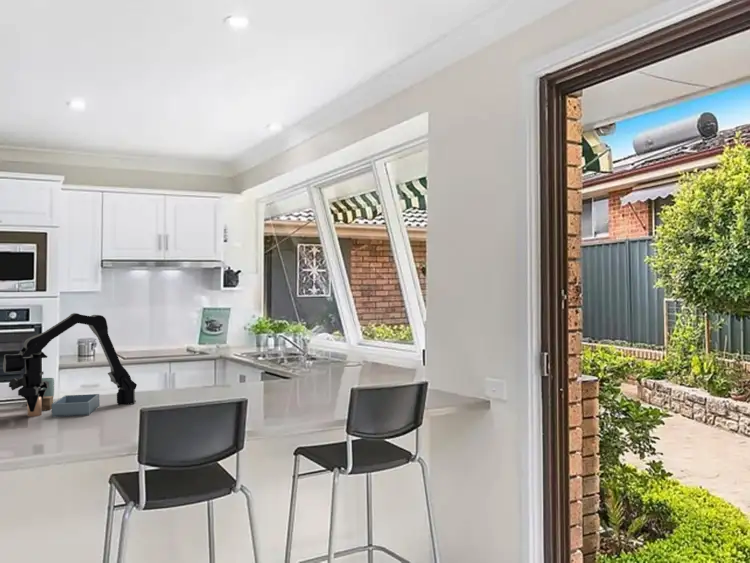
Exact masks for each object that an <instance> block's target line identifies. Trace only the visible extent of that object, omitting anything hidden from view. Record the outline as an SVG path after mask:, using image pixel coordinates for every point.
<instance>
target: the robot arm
mask: <svg viewBox="0 0 750 563" xmlns="http://www.w3.org/2000/svg"><path fill="white" fill-rule="evenodd" d="M76 324H82V325H86V326H88V327H89V328H90V330H91V331H92V333H93V334H94V335H95V337H97V339H98V340H97V341H98V342H99V344H100V346H101V349H102V351H103V353H104V356H105V357H106V360H107V362H108V365H109V367H110V371H109V372H107V375H108V376H109V378H110V382H112V383H113V384H114V385H116V387H117V389H118V390H117V393H116V403H117V405H118V406H120V405H121V406H122V405H134V404H135V403H136V401H137V400H136V389H137V386H138V385H137V383H136V382H134V381H133V380H132V378H131V375H130V374H129V372H128V370H127V369H126V368H125V367H124V366H123V365H122V363H121V361H120V358H119V357H118V354H117V352H116V349H115V347H114V344H113V342H112V340H111V338H110V336H109V327H108V323H107V319H106V316H105V317H104V315H100V314H93V315H85V314H80V313H76V312H73V313H71V314H70V315H68V316H67V317H66V318H64V319H63V320H60V321H59V322H58V323H56V324H55V325H53V326H52V327H50V328H49V329H47V330H45V331H43V332H40V333H38V334H35V335H32V336H31V337H28V338H27V339H25V341H24V343H23V346H22V348H21V349H20V351H19V352H18V353H16V354H14V353H13V354H4V355H3V357H4V358H3V362H2V368H3V369H2V370H3V373H5V374H6V373H15V372H17V373H18V372H21V371H22V370H24V369H25V372H24V373H23V375H22V377H20V378H18V379H17V378H16V377H15V378H11V379H10V380H9V382H8V388H10V389H11V391H14V390H16V389H18V388H19V389H18V390H17V395H18V396H19V397H23V398H24V399H26V404H27V403H28V406H29V409H30V411H31V412H33V411H34V409H35V406H36V403H37V400H38V397H39V396H41V401H42V399H43V397H44V395H45V392H46V391H47V389H43V388H49V382H47V381H42V378H43V375H44V371H43V364H42V362H43V359H46V358H48V355H46V354H45V353H44V351H42V350H43V349H44V348H45V347H46V346H48V344H49V343H50V342H51V341H52V340H54V339H55V338H57V337H58V336H60V335H61V334H63V333H65V332H66V331H68V330H69V329H71V328H72V327H74V326H75V325H76Z"/></svg>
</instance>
